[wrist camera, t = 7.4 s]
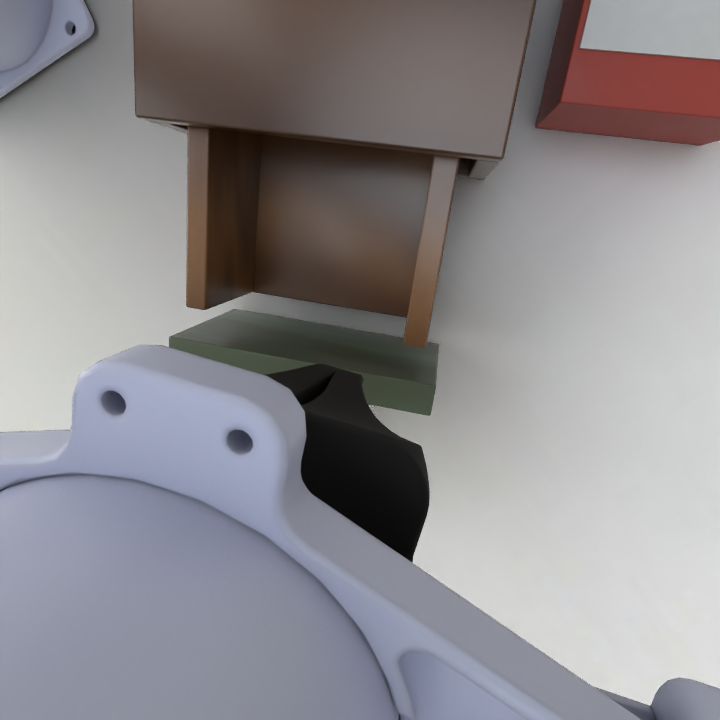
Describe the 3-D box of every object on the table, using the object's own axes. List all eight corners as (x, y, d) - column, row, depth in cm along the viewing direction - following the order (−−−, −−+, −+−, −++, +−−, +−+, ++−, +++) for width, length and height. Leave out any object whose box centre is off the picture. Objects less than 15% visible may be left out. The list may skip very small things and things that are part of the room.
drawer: (417, 458, 23) (408, 530, 18) (229, 420, 25) (168, 475, 19) (491, 70, 18) (509, 7, 13) (245, 47, 19) (167, -18, 14)
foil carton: (751, -6, 17) (858, -84, 12) (701, 145, 18) (780, 123, 14) (567, -18, 17) (606, -95, 13) (534, 128, 19) (559, 101, 15)
